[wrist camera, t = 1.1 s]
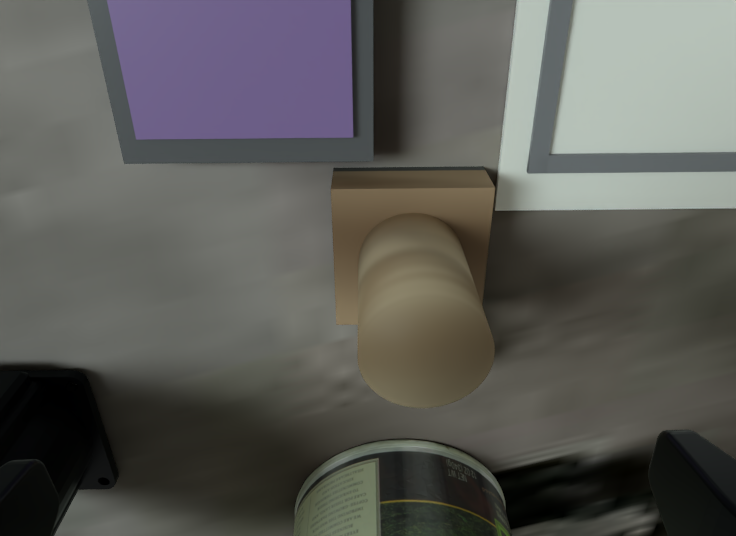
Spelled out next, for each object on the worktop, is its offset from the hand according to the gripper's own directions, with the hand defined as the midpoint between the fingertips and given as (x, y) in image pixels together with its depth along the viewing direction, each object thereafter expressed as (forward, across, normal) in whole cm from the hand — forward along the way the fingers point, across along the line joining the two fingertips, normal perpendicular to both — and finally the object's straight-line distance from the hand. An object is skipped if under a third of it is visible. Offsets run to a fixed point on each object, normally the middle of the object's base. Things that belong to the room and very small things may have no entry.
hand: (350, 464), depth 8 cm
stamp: (+12, -2, +2) cm, 13 cm away
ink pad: (+12, +3, -6) cm, 14 cm away
